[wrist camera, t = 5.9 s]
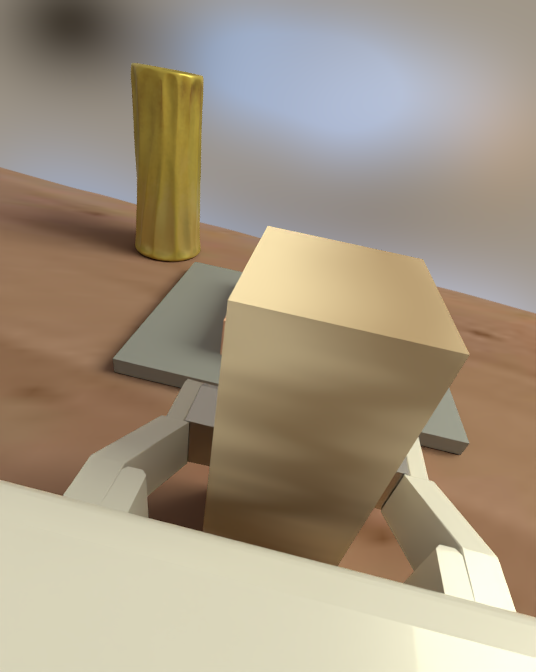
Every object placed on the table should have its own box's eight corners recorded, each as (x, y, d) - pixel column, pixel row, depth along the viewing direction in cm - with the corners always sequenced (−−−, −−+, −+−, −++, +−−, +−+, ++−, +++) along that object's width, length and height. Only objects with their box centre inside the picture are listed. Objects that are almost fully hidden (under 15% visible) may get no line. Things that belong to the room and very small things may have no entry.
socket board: (114, 371, 21) (108, 321, 19) (194, 272, 32) (196, 234, 30) (460, 454, 20) (493, 411, 18) (416, 321, 31) (434, 286, 29)
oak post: (196, 588, 13) (228, 299, 6) (225, 487, 16) (268, 225, 9) (305, 616, 13) (469, 354, 6) (313, 509, 16) (423, 259, 9)
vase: (143, 233, 37) (135, 62, 29) (203, 241, 38) (212, 77, 30) (128, 257, 32) (113, 60, 24) (196, 266, 33) (206, 77, 25)
